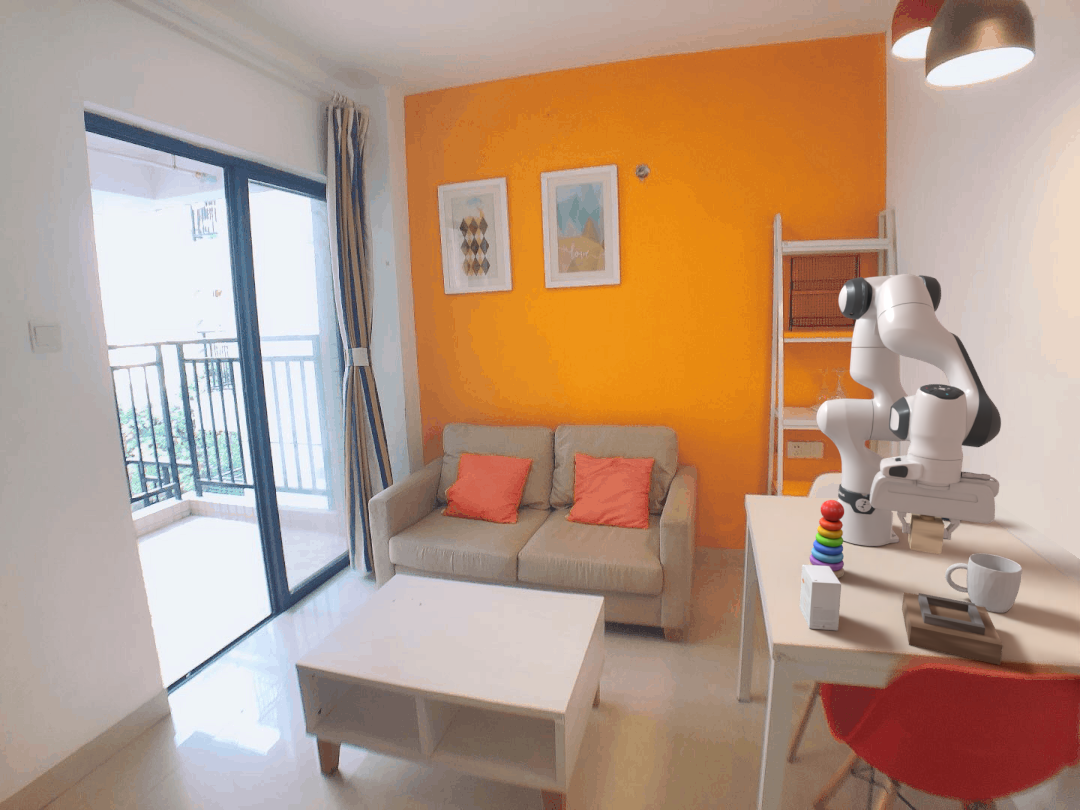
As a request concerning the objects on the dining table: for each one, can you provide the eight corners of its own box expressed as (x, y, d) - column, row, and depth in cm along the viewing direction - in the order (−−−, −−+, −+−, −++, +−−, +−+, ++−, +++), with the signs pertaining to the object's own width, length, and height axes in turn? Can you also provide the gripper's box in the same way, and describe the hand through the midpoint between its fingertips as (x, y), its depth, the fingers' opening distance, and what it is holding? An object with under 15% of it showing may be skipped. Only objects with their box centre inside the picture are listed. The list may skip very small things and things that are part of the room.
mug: (1013, 601, 122) (1020, 559, 120) (1018, 621, 115) (1025, 576, 113) (942, 585, 129) (947, 545, 127) (942, 603, 122) (948, 561, 120)
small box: (838, 631, 113) (842, 584, 111) (808, 629, 114) (812, 582, 112) (826, 610, 121) (830, 565, 119) (798, 608, 122) (801, 563, 120)
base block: (901, 608, 120) (904, 585, 119) (982, 625, 114) (986, 600, 113) (909, 644, 108) (911, 619, 107) (1000, 665, 102) (1004, 638, 101)
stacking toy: (809, 577, 134) (814, 504, 131) (806, 562, 142) (811, 493, 138) (846, 582, 132) (852, 507, 128) (840, 567, 139) (846, 496, 136)
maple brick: (908, 540, 115) (911, 508, 113) (937, 544, 112) (941, 512, 111) (910, 549, 110) (913, 517, 109) (941, 554, 108) (945, 521, 107)
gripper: (996, 471, 106) (987, 539, 109) (872, 458, 116) (866, 521, 118) (1004, 480, 101) (995, 551, 103) (873, 466, 110) (867, 532, 113)
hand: (925, 535), depth 111 cm, fingers closed on maple brick, 5 cm apart
